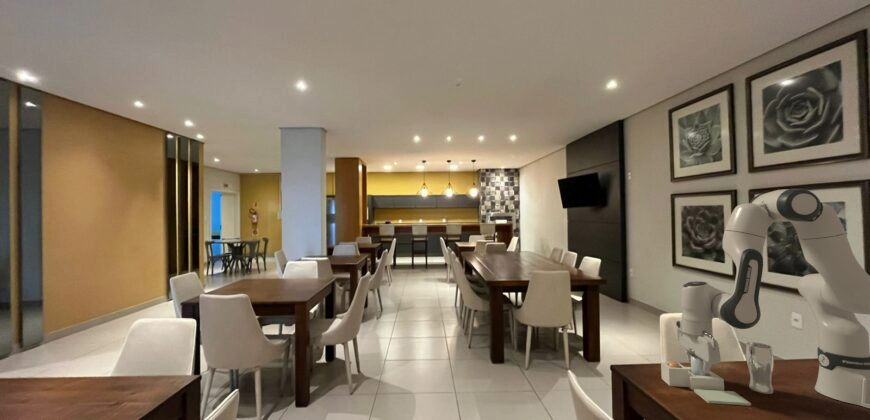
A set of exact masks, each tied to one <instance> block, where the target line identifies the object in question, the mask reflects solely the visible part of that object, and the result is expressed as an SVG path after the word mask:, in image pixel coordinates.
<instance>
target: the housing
mask: <svg viewBox="0 0 870 420" xmlns="http://www.w3.org/2000/svg"><path fill="white" fill-rule="evenodd" d="M669 362H670V361H667V362H666V361H661V362H660V369H661V370H660V371H661V379H662V381H664V382H665V383H666V384H667V385H668V386H669V387H680V388H681V387H684V388H685V387H686V388H689V389H690V390H691V391H692V390H693V391H694V389H700V390H718V391H725V380H724V378H723V377H720V376H719V374H718V375H717V374H716V373H715V372H713V371H712V370H710V373H707V376H697V375H693V374H692V373H691V366H684V365H683V364H681V363H679V362H678V363H679V368H671V367H669Z"/></svg>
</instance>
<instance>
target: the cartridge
mask: <svg viewBox="0 0 870 420" xmlns="http://www.w3.org/2000/svg"><path fill="white" fill-rule="evenodd" d="M689 354H690V355H691V363H690V367H691V373H692V374H693V375H697V376H707V373H704V372H703V371H702V366H704V363H703V359H701V358H699V357H698V356H696V355H695V351H694V350H692V349H691V348H689Z"/></svg>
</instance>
